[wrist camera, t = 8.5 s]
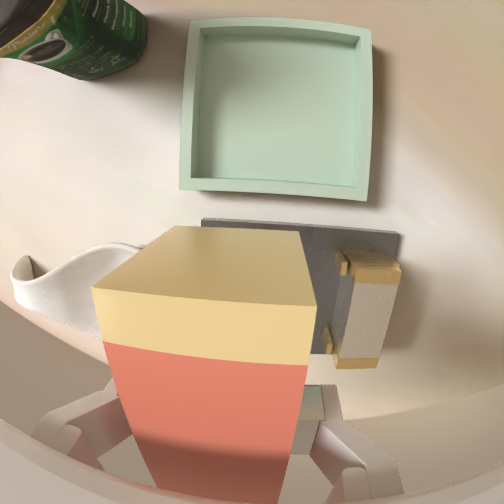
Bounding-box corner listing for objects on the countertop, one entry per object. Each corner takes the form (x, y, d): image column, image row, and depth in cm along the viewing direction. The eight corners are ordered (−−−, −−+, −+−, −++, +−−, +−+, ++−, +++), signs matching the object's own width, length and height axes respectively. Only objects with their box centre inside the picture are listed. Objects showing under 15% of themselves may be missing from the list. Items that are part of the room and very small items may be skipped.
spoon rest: (181, 235, 30) (154, 258, 23) (187, 335, 33) (168, 374, 26) (23, 230, 31) (-14, 246, 24) (39, 309, 35) (9, 332, 28)
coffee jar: (151, 6, 22) (54, -83, 4) (149, 66, 24) (21, -4, 7) (78, 32, 23) (-34, -13, 5) (74, 89, 25) (-59, 68, 7)
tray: (362, 40, 22) (370, 29, 19) (357, 196, 27) (366, 201, 24) (197, 32, 23) (189, 20, 20) (188, 186, 28) (179, 189, 25)
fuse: (298, 231, 9) (316, 306, 5) (276, 436, 12) (271, 523, 8) (175, 225, 10) (91, 286, 5) (194, 427, 13) (169, 510, 8)
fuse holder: (395, 231, 27) (421, 249, 22) (369, 349, 32) (383, 382, 26) (203, 217, 29) (185, 233, 23) (205, 340, 33) (193, 374, 27)
